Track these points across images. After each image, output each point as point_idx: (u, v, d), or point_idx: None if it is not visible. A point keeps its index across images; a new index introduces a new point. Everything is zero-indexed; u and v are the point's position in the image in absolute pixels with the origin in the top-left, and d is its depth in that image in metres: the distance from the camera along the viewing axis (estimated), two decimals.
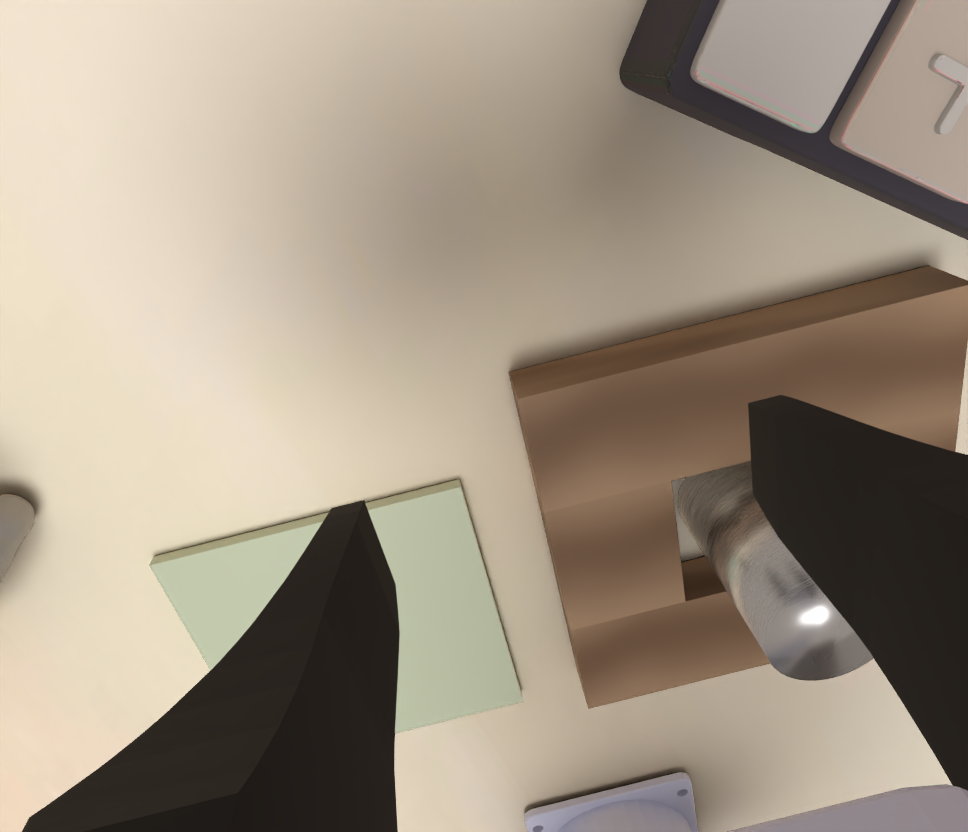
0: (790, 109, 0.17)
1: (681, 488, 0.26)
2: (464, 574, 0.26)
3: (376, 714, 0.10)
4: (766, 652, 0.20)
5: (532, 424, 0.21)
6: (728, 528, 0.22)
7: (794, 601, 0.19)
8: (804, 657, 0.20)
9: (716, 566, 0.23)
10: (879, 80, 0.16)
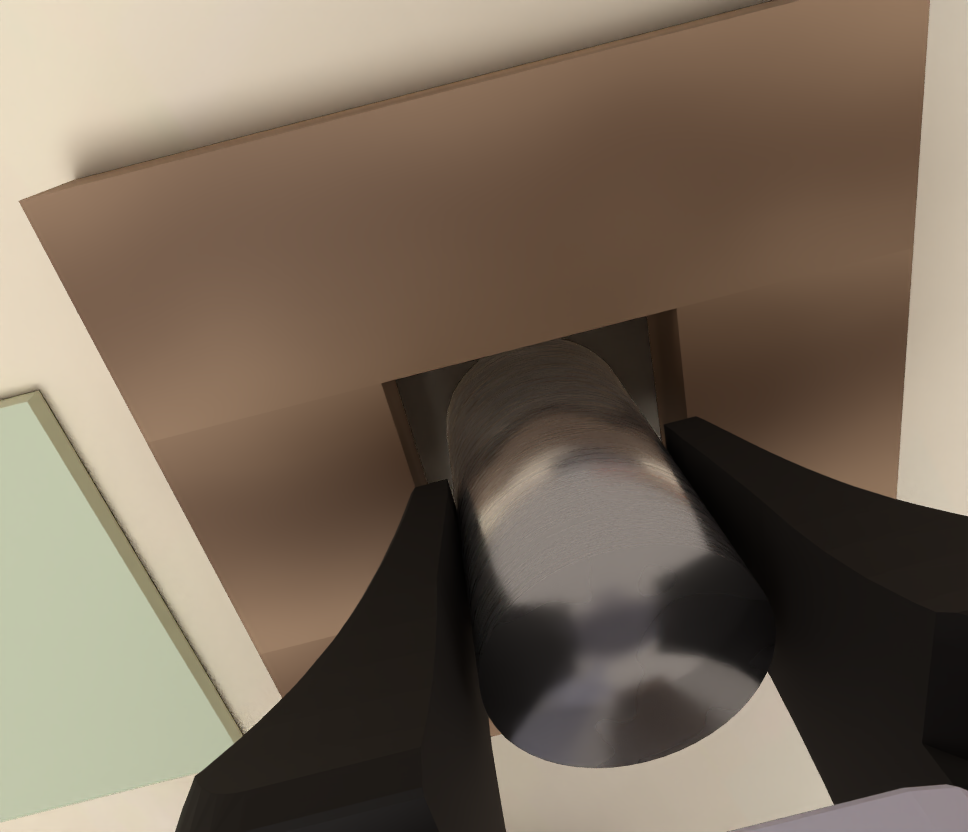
0: None
1: (447, 413, 0.15)
2: (83, 559, 0.15)
3: (476, 689, 0.10)
4: (489, 715, 0.09)
5: (68, 259, 0.11)
6: (473, 468, 0.12)
7: (524, 608, 0.09)
8: (577, 723, 0.10)
9: None
10: None
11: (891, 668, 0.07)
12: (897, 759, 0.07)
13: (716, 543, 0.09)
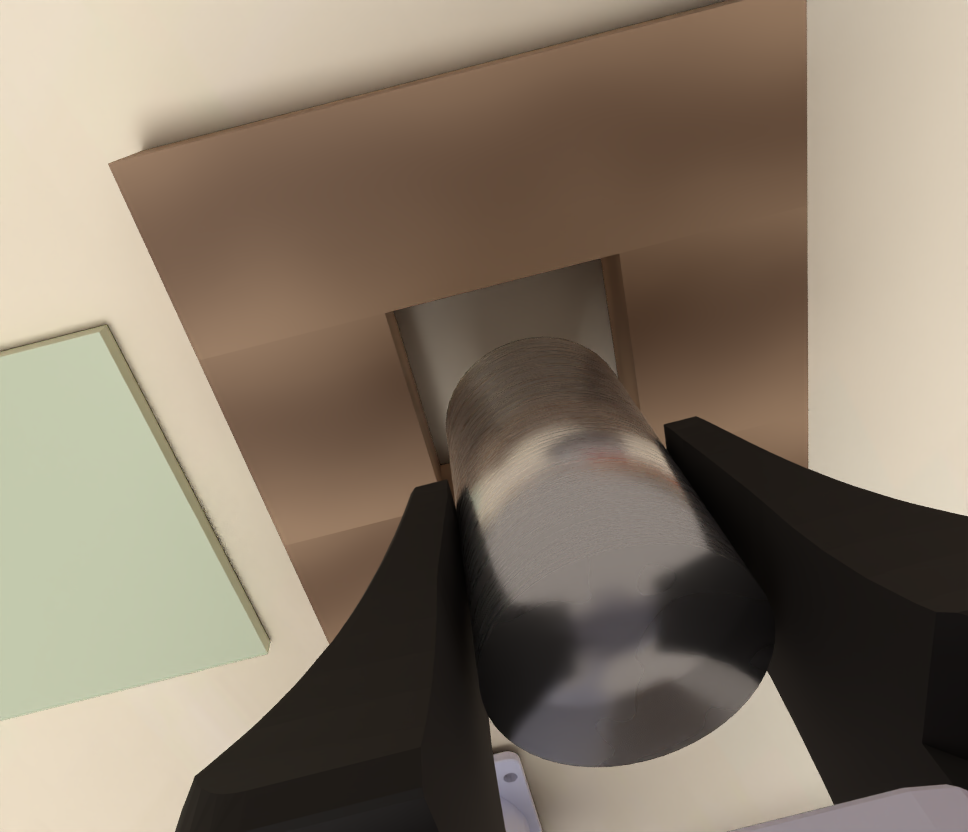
0: None
1: (447, 413, 0.15)
2: (138, 468, 0.18)
3: (476, 689, 0.10)
4: (489, 714, 0.09)
5: (143, 210, 0.14)
6: (473, 468, 0.12)
7: (523, 608, 0.09)
8: (576, 722, 0.10)
9: None
10: None
11: (891, 668, 0.07)
12: (897, 759, 0.07)
13: (716, 542, 0.09)
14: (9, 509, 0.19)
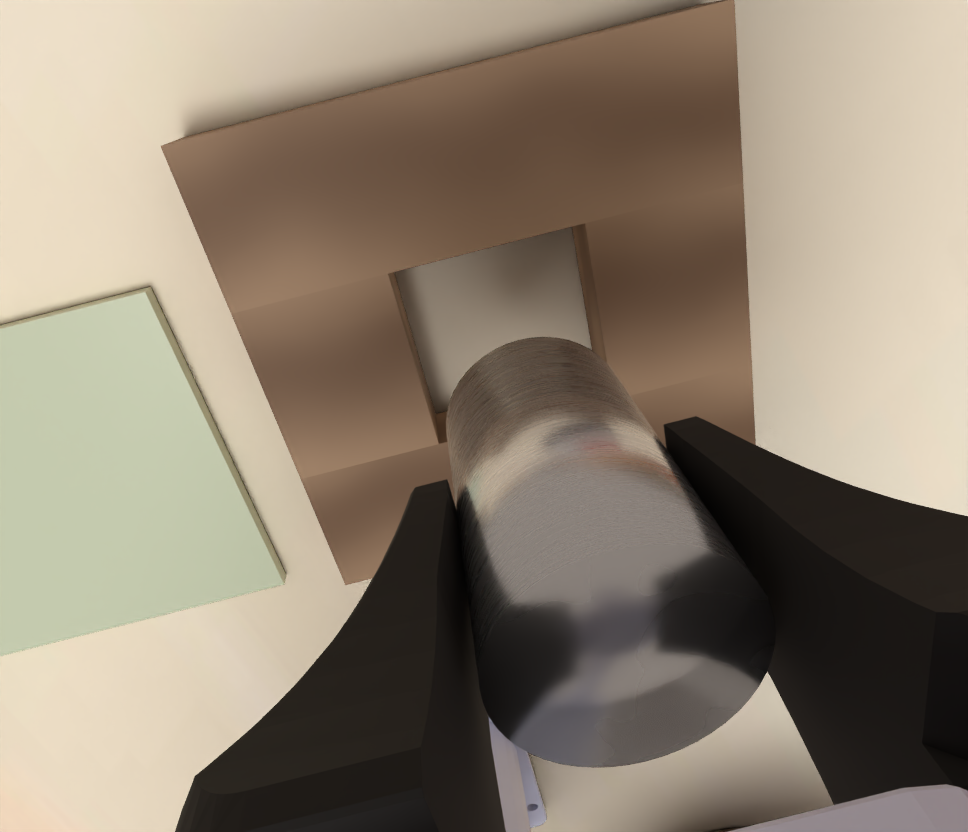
0: None
1: (447, 413, 0.15)
2: (175, 413, 0.21)
3: (476, 689, 0.10)
4: (489, 715, 0.09)
5: (188, 185, 0.17)
6: (473, 468, 0.12)
7: (524, 608, 0.09)
8: (576, 722, 0.10)
9: None
10: None
11: (891, 668, 0.07)
12: (897, 759, 0.07)
13: (716, 542, 0.09)
14: (63, 448, 0.21)
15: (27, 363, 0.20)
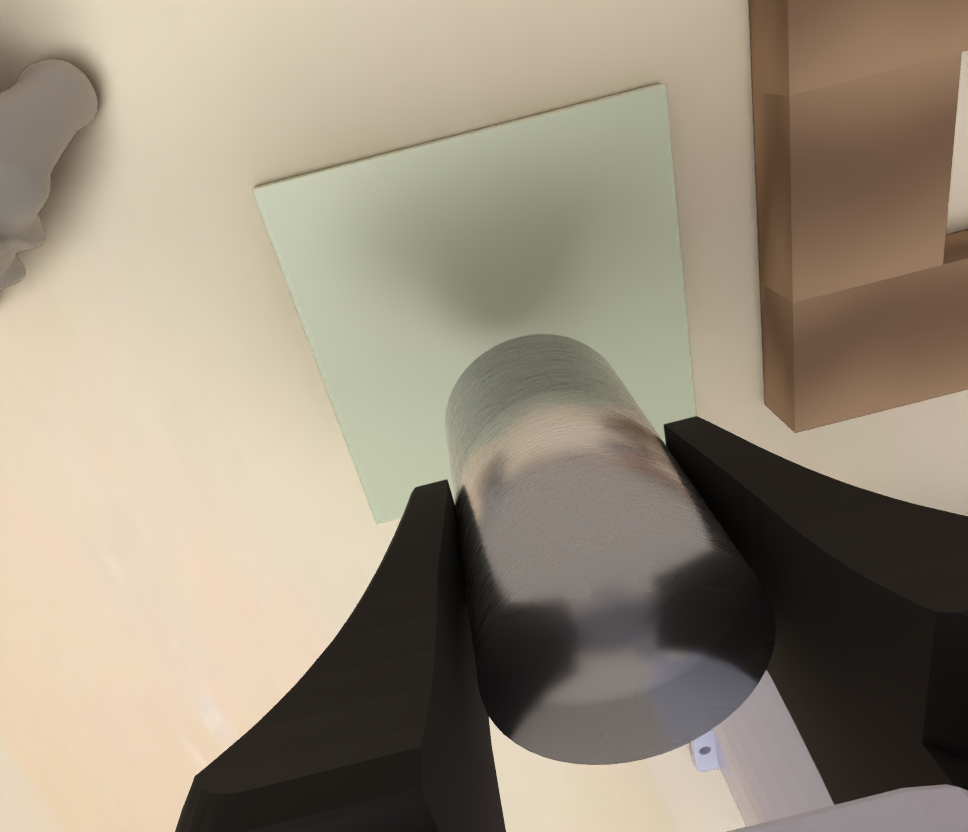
0: None
1: (446, 410, 0.15)
2: (652, 233, 0.20)
3: (476, 689, 0.10)
4: (488, 712, 0.09)
5: None
6: (472, 464, 0.12)
7: (523, 604, 0.09)
8: (575, 719, 0.10)
9: None
10: None
11: (891, 668, 0.07)
12: (897, 759, 0.07)
13: (716, 538, 0.09)
14: (528, 273, 0.20)
15: (522, 167, 0.19)
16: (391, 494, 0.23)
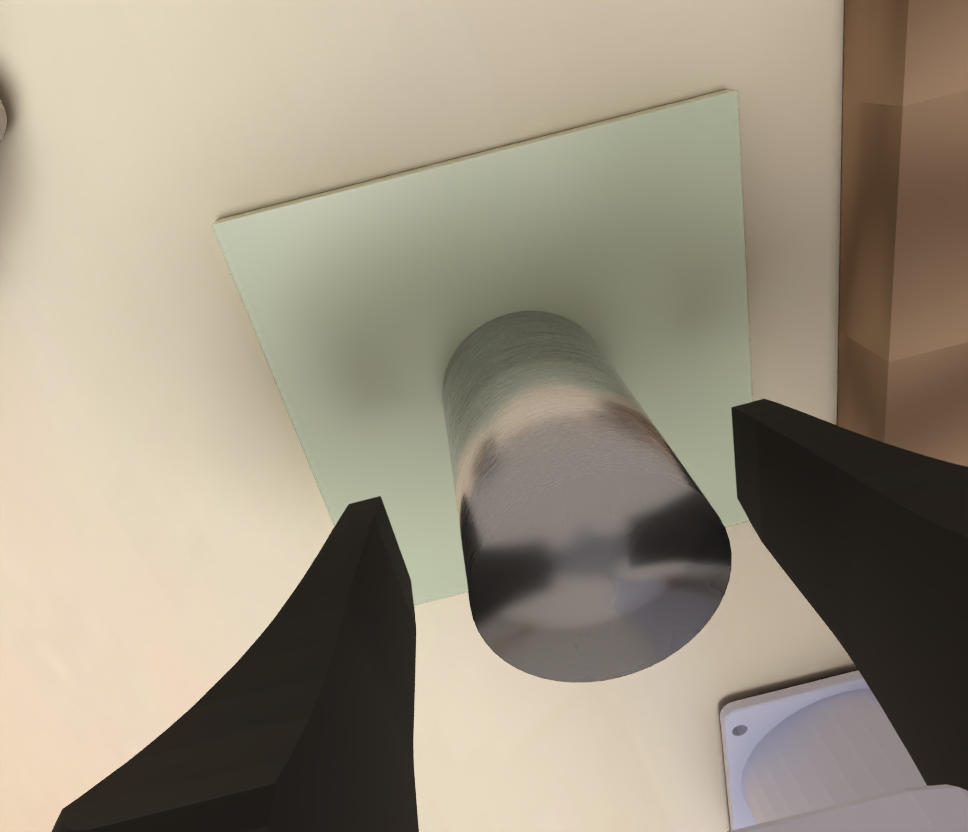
0: None
1: (443, 381, 0.16)
2: (713, 275, 0.16)
3: (396, 709, 0.10)
4: (479, 630, 0.11)
5: None
6: (466, 422, 0.13)
7: (509, 529, 0.10)
8: (556, 639, 0.11)
9: None
10: None
11: None
12: None
13: (677, 474, 0.10)
14: None
15: (554, 195, 0.15)
16: None
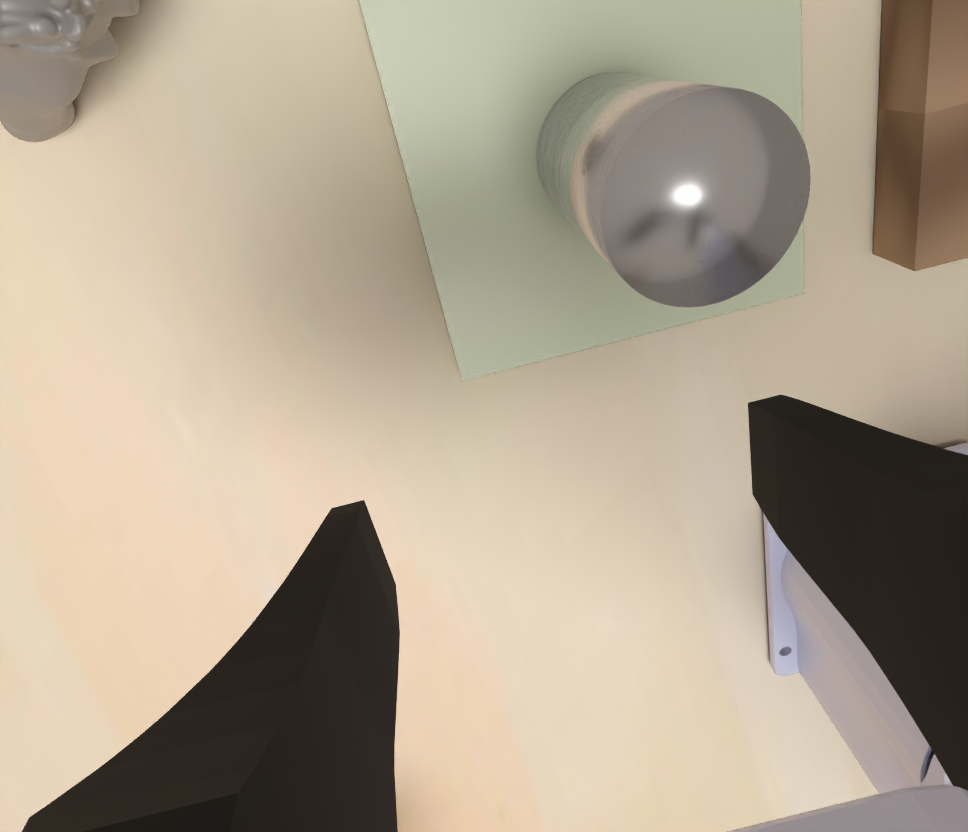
0: None
1: (538, 139, 0.19)
2: (773, 41, 0.18)
3: (376, 714, 0.10)
4: (605, 245, 0.13)
5: None
6: (576, 128, 0.16)
7: (637, 141, 0.12)
8: (666, 259, 0.14)
9: (564, 193, 0.16)
10: None
11: None
12: None
13: None
14: None
15: None
16: (479, 346, 0.21)
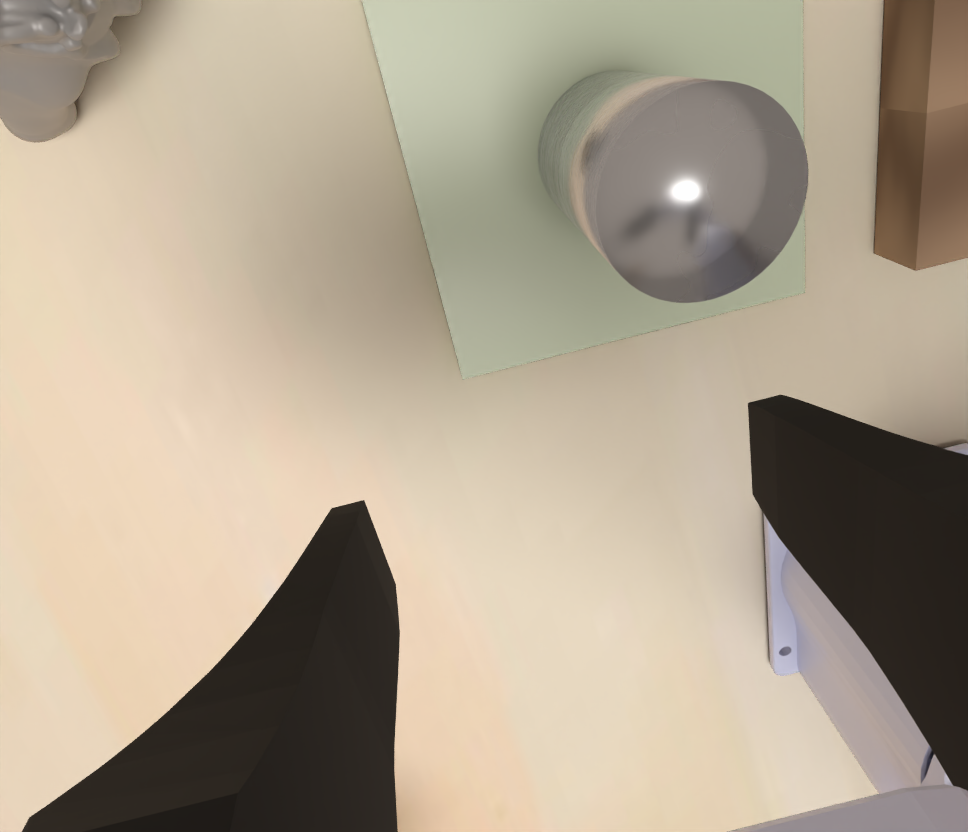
0: None
1: (539, 139, 0.19)
2: (775, 40, 0.18)
3: (376, 714, 0.10)
4: (602, 241, 0.13)
5: None
6: (574, 126, 0.16)
7: (631, 137, 0.12)
8: (663, 254, 0.13)
9: (563, 192, 0.16)
10: None
11: None
12: None
13: None
14: None
15: None
16: (480, 344, 0.21)
